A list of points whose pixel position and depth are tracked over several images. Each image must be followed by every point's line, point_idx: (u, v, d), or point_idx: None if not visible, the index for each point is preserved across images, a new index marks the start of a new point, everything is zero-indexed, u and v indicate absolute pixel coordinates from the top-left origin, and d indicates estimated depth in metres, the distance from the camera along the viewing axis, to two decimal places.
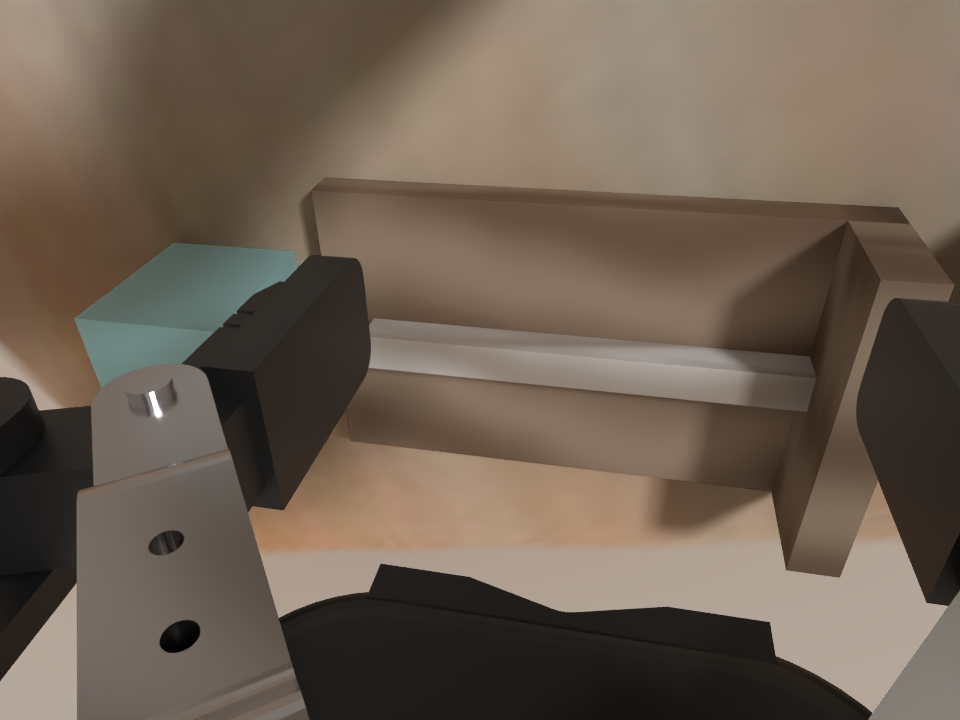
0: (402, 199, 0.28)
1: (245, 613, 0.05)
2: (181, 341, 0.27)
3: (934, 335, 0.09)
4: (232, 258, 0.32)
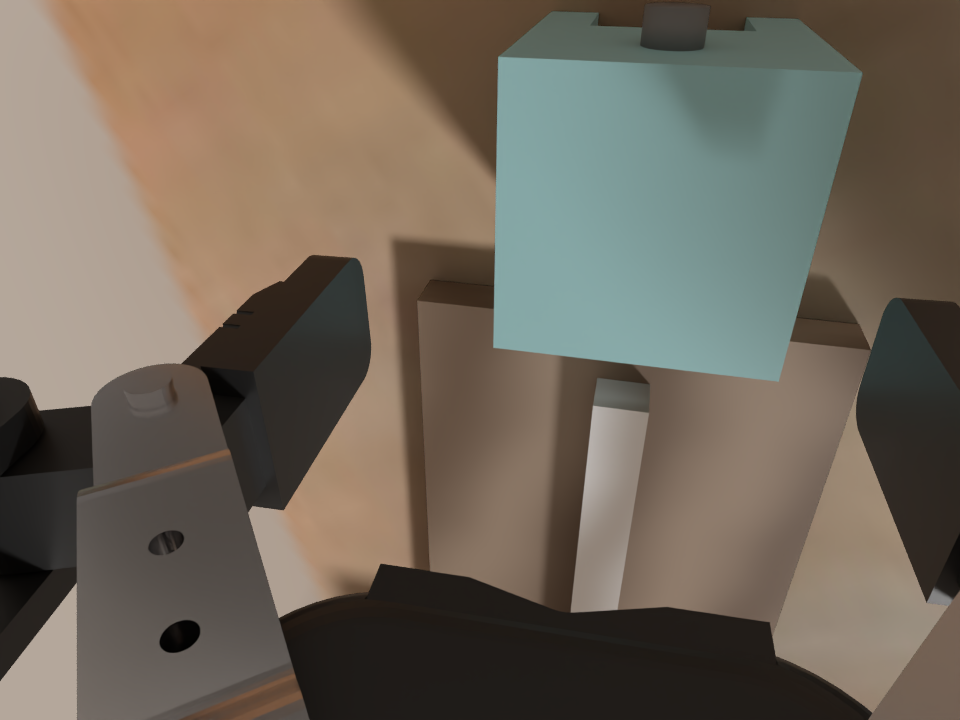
0: (828, 455, 0.22)
1: (245, 615, 0.05)
2: (765, 309, 0.14)
3: (933, 335, 0.09)
4: None
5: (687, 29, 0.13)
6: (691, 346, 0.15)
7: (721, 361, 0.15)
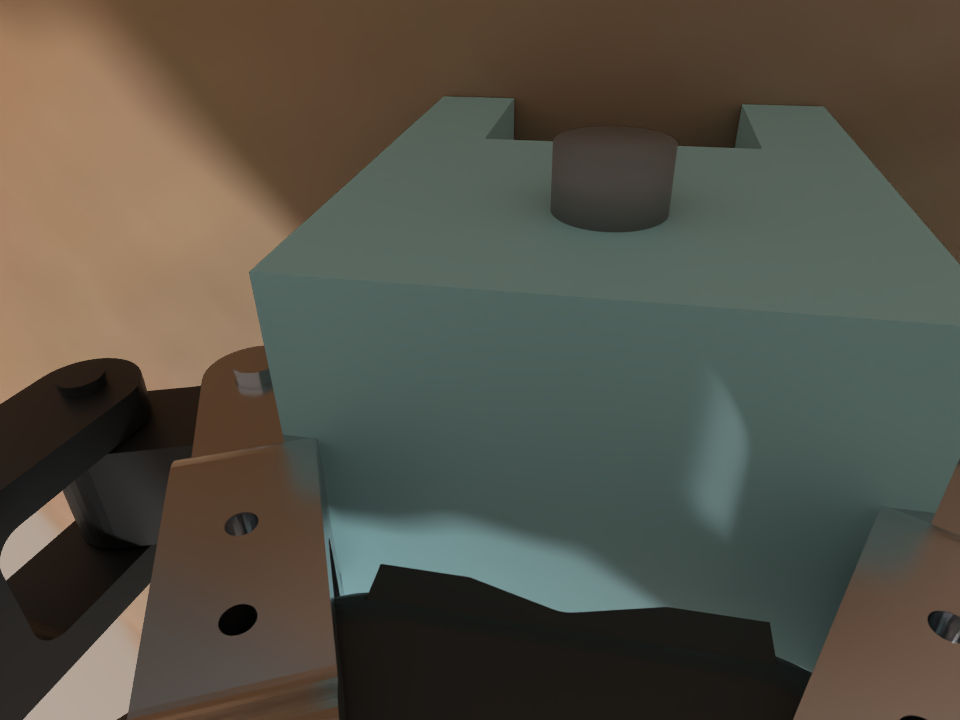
0: None
1: (302, 608, 0.05)
2: None
3: None
4: None
5: (633, 193, 0.07)
6: None
7: None
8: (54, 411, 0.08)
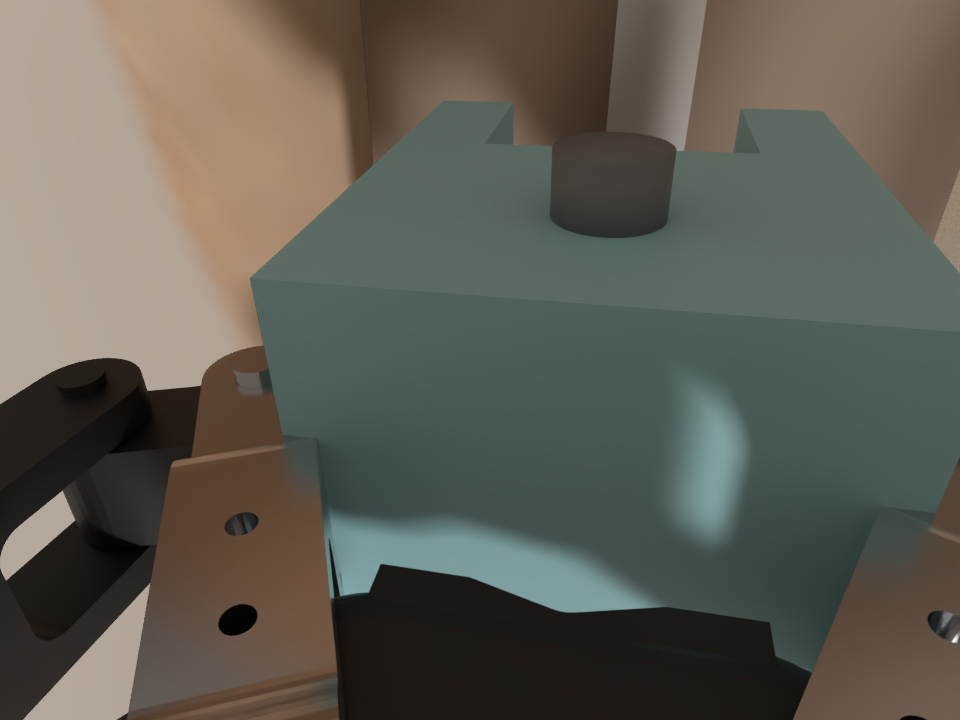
0: None
1: (301, 609, 0.05)
2: None
3: None
4: None
5: (632, 200, 0.07)
6: None
7: None
8: (54, 411, 0.08)
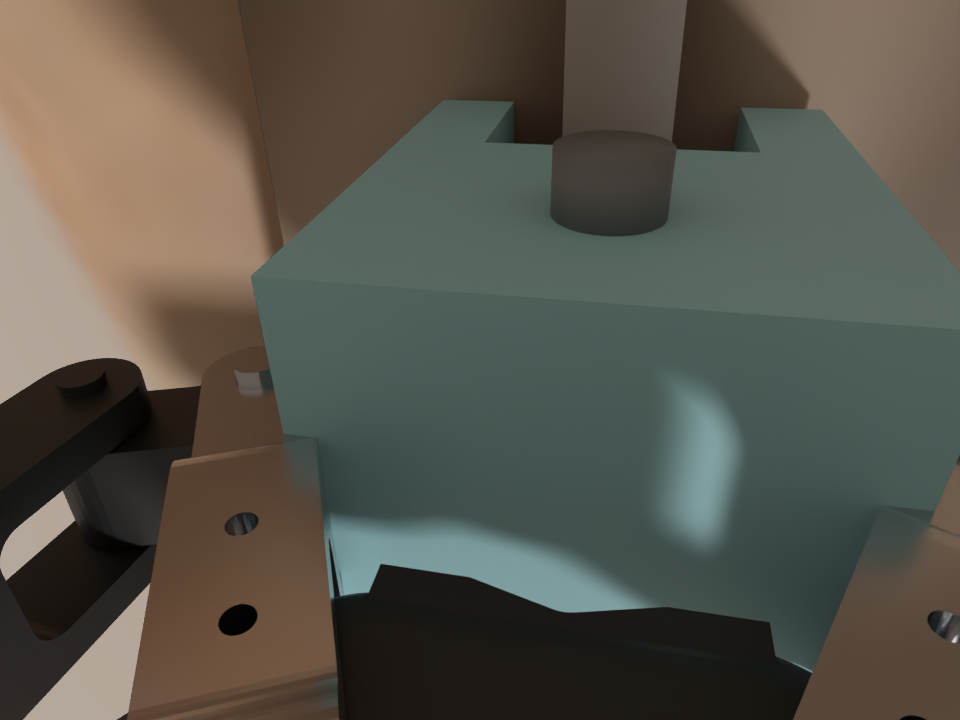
0: None
1: (301, 608, 0.05)
2: None
3: None
4: None
5: (632, 198, 0.07)
6: None
7: None
8: (54, 411, 0.08)
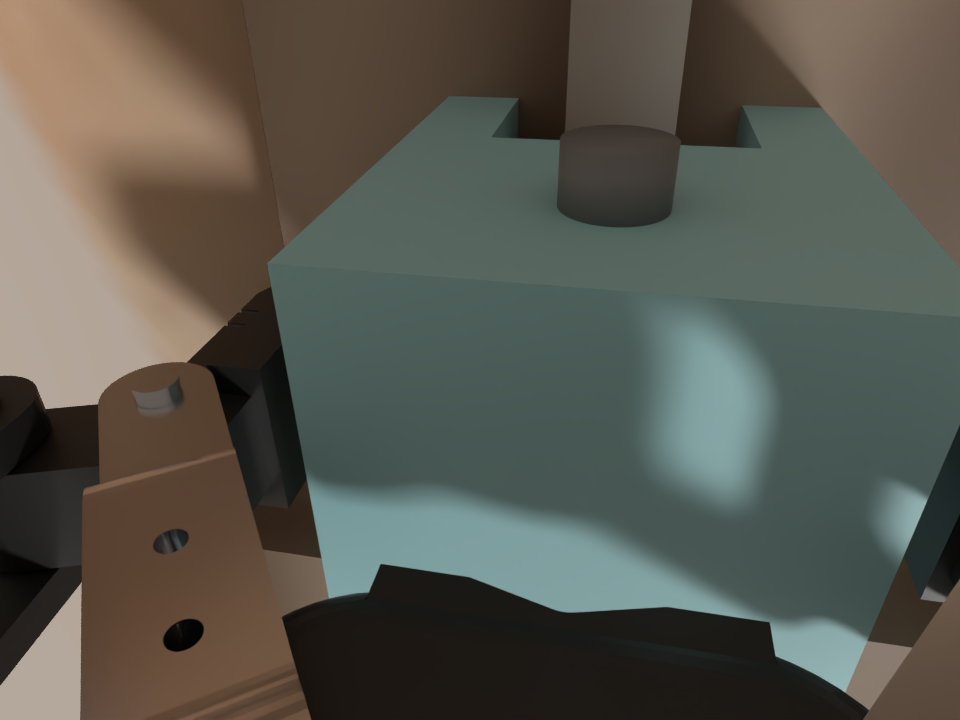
0: None
1: (248, 613, 0.05)
2: None
3: None
4: None
5: (637, 190, 0.07)
6: None
7: None
8: None
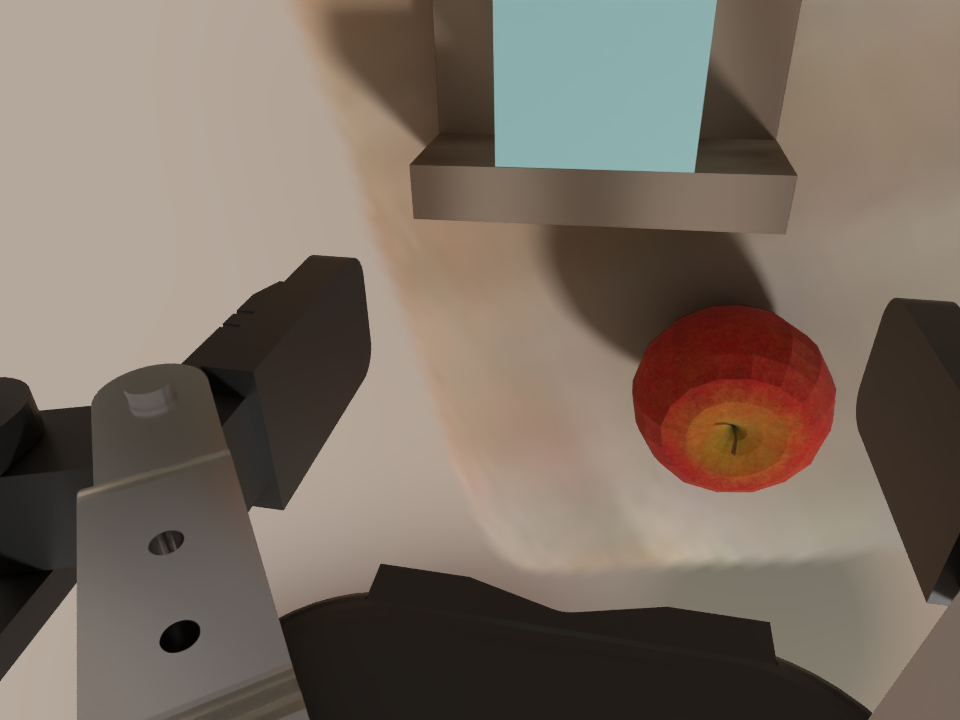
0: None
1: (245, 615, 0.05)
2: (680, 116, 0.21)
3: (934, 335, 0.09)
4: None
5: None
6: (633, 150, 0.21)
7: (654, 160, 0.21)
8: None
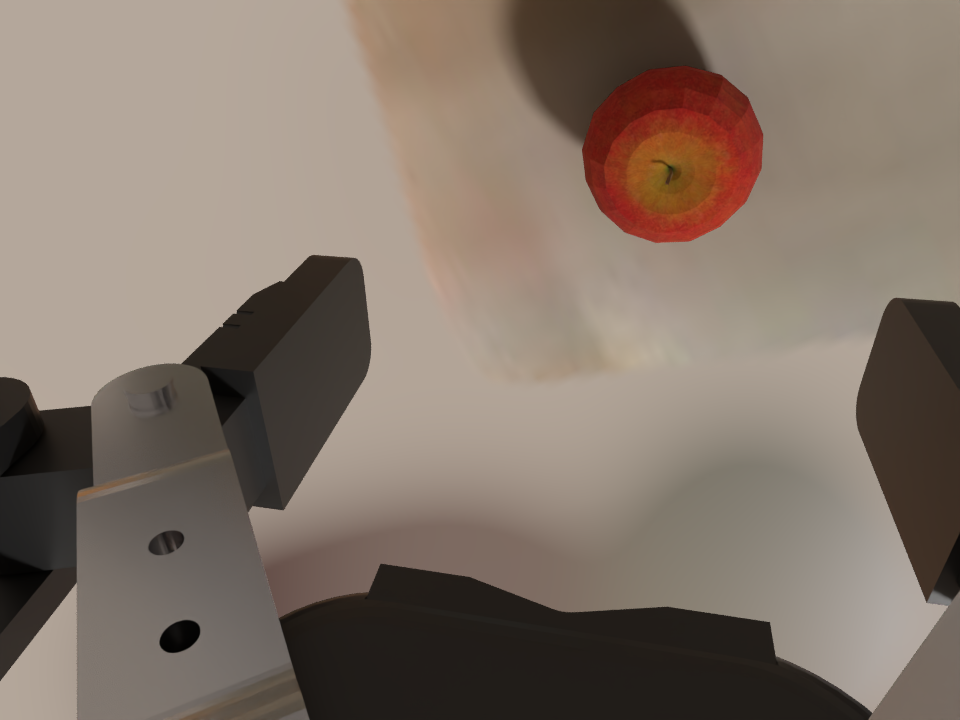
0: None
1: (245, 615, 0.05)
2: None
3: (934, 335, 0.09)
4: None
5: None
6: None
7: None
8: None
